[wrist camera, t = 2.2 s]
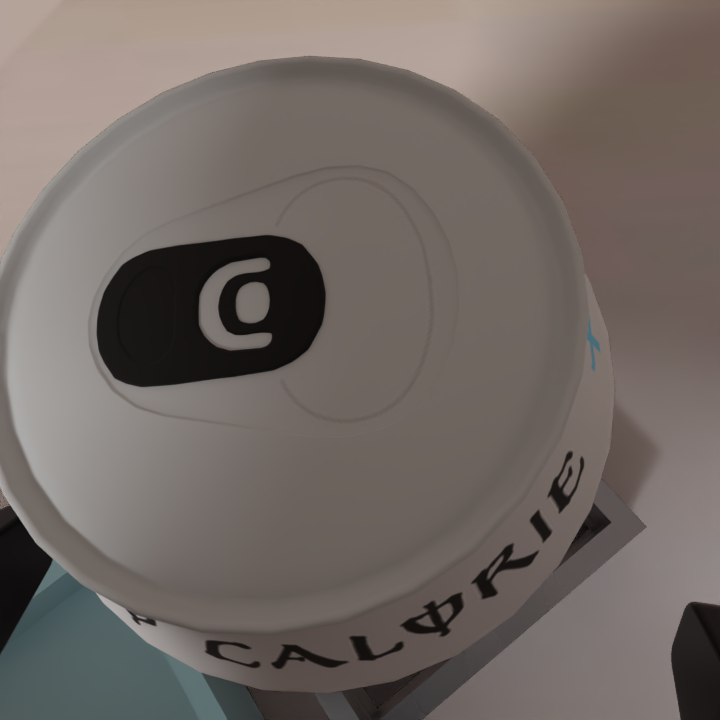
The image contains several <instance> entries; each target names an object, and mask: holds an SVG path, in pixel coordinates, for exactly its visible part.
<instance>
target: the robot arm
mask: <svg viewBox="0 0 720 720" xmlns="http://www.w3.org/2000/svg"><path fill="white" fill-rule="evenodd" d="M52 561H53V558H52V557H50V556H49V555H48V554H47V553H46V552H45V551H44V550H43V549H42V548H41V547H39V546H38V545H37V544H36V543H35V541H34V540H33V538H32V537H31V535H30V534H29V532H28V531H27V529H26V528H25V526H24V525H23V523H22V522H21V520H20V519H19V517H18V516H17V514H16V513H15V511H14V510H13V508H12V507H11V505H10V506H7V507H5V508H3V509H1V510H0V654H1V653H2V651H3V649H4V648H5V646H6V644H7V642H8V641H9V639H10V637H11V635H12V634H13V632H14V630H15V628H16V626H17V625H18V623H19V621H20V619H21V618H22V616H23V614H24V612H25V611H26V609H27V607H28V605H29V603H30V602H31V600H32V598H33V596H34V595H35V593H36V591H37V589H38V587H39V586H40V584H41V582H42V580H43V579H44V577H45V575H46V573H47V571H48V570H49V568H50V566H51V564H52ZM671 662H672V670H673V676H674V682H675V688H676V694H677V700H678V706H679V712H680V718H681V720H720V605H715V604H708V603H701V602H691V603H689V604H688V605H687V606H686V608H685V610H684V612H683V615H682V618H681V621H680V624H679V627H678V630H677V633H676V636H675V639H674V642H673V645H672V651H671Z"/></svg>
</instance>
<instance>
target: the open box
mask: <svg viewBox="0 0 720 720" xmlns="http://www.w3.org/2000/svg"><path fill="white" fill-rule="evenodd" d="M583 523H584V524H585V525H586V526H587V527H588V528H589V530H588V531H587V532H586V533H585V534H583V535H582V536H581V537H580V538H579V539H577V540H576V541H575V542H574V543H573V544H572V545H570V547H569V548H568V550H567V552H566V554H565V555H564V557H563V559H562V561H561V562H560V564H559V566H558V567H557V568H556V569H555V570H554V571H553V572H552V573H551V575H550V576H549V577H548V578H547V579H546V580H545V581H544V582H543V583H542V584H541V586H540V587H539V588H538V589H537V590H536V591H535V592H534V593H533V594H532V595H531V596H530V598H529V599H528V600H527V601H526V602H525V603H524V604H523V605H522V606H521V607H520V609H519V610H518V611H517V612H516V613H515V614H514V615H513V616H512V617H510V618H509V619H507V620H506V621H505V622H503V623H502V624H500V625H499V626H498V627H496V628H495V629H493V630H492V631H490V632H489V633H488V634H486V635H485V636H483V637H482V638H481V639H479V640H478V641H476V642H475V643H474V644H472V645H471V646H469V647H468V648H467V649H465V650H464V651H462V652H461V653H459V654H458V655H456V656H454V657H451V658H449V659H446V660H444V661H442V662H439V663H437V664H435V665H432V666H430V667H427V668H425V669H424V670H423V671H422V672H420V673H419V674H418V675H417V676H416V677H414V678H413V679H412V680H411V681H410V682H409V683H407V684H406V685H405V686H404V687H403V688H401V689H400V690H399V691H398V692H397V693H396V694H394V695H393V696H392V697H391V698H390V699H388V700H387V701H386V702H385V703H384V704H383V705H381V706H380V707H379V708H378V709H377V708H376V706H375V705H374V703H373V702H372V700H371V699H370V697H369V696H368V694H367V692H366V691H365V689H364V688H363V687H360V688H354V689H349V690H343V691H337V692H332V693H313V694H314V695H315V697H316V699H317V700H318V702H319V703H320V705H321V707H322V708H323V710H324V711H325V713H326V715H327V716H328V718H329V719H330V720H422V719H423V718H424V717H426V716H427V715H428V714H429V713H430V712H431V711H433V710H434V709H435V708H436V707H437V706H438V705H440V704H441V703H442V702H443V701H444V700H445V699H447V698H448V697H449V696H450V695H451V694H452V693H454V692H455V691H456V690H457V689H458V688H459V687H461V686H462V685H463V684H464V683H465V682H466V681H467V680H469V679H470V678H471V677H472V676H473V675H474V674H476V673H477V672H478V671H479V670H480V669H481V668H483V667H484V666H485V665H486V664H487V663H488V662H490V661H491V660H492V659H493V658H494V657H495V656H497V655H498V654H499V653H500V652H501V651H502V650H504V649H505V648H506V647H507V646H508V645H509V644H511V643H512V642H513V641H514V640H515V639H516V638H518V637H519V636H520V635H521V634H522V633H523V632H525V631H526V630H527V629H528V628H529V627H530V626H532V625H533V624H534V623H535V622H536V621H537V620H539V619H540V618H541V617H542V616H543V615H544V614H546V613H547V612H548V611H549V610H550V609H551V608H553V607H554V606H555V605H556V604H557V603H558V602H560V601H561V600H562V599H563V598H564V597H565V596H567V595H568V594H569V593H570V592H571V591H572V590H574V589H575V588H576V587H577V586H578V585H579V584H581V583H582V582H583V581H584V580H585V579H586V578H588V577H589V576H590V575H591V574H592V573H593V572H595V571H596V570H597V569H598V568H599V567H600V566H602V565H603V564H604V563H605V562H606V561H607V560H609V559H610V558H611V557H612V556H613V555H614V554H616V553H617V552H618V551H619V550H620V549H621V548H623V547H624V546H625V545H626V544H627V543H628V542H630V541H631V540H632V539H633V538H634V537H635V536H637V535H638V534H639V533H640V532H641V531H642V530H644V529H645V528H646V525H645V524H644V523H643V522H642V521H641V520H640V519H639V518H638V517H637V516H636V515H635V514H634V513H633V512H632V510H631V509H630V508H629V507H628V506H627V505H626V504H625V503H624V502H623V501H622V500H621V499H620V498H619V497H618V495H617V494H616V493H615V492H614V491H613V490H612V489H611V488H610V487H609V486H608V485H607V484H606V483H605V482H604V481H603V479H602V478H601V479H600V483H599V486H598V489H597V492H596V495H595V499H594V502H593V505H592V508H591V510H590V512H589V514H588V515H587V517H586V519H585V521H584V522H583Z"/></svg>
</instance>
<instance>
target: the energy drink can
mask: <svg viewBox="0 0 720 720" xmlns="http://www.w3.org/2000/svg"><path fill="white" fill-rule="evenodd" d="M614 399H615V382H614V374H613V367H612V359H611V351H610V343H609V336H608V330H607V328H606V325H605V322H604V319H603V317H602V314H601V311H600V308H599V305H598V303H597V300H596V297H595V294H594V291H593V289H592V286H591V283H590V280H589V278H588V277H587V275H586V273H585V271H584V262H583V254H582V252H581V249H580V246H579V243H578V241H577V238H576V235H575V232H574V229H573V227H572V224H571V221H570V218H569V216H568V213H567V210H566V207H565V204H564V202H563V200H562V199H561V197H560V196H559V194H558V192H557V191H556V189H555V188H554V186H553V184H552V183H551V181H550V180H549V178H548V177H547V175H546V173H545V172H544V170H543V169H542V167H541V166H540V164H539V162H538V161H537V159H536V158H535V156H534V155H533V154H532V153H531V152H530V151H529V150H528V149H527V148H526V147H525V146H524V145H523V144H522V143H521V142H520V141H519V140H518V139H517V138H516V137H515V136H514V135H513V134H512V133H511V132H510V131H509V130H508V129H507V128H506V127H505V126H504V125H503V124H502V123H501V122H500V121H499V120H498V119H497V118H496V117H494V116H493V115H491V114H490V113H488V112H487V111H486V110H484V109H483V108H481V107H480V106H478V105H477V104H475V103H474V102H472V101H471V100H469V99H468V98H466V97H465V96H463V95H462V94H460V93H459V92H457V91H456V90H454V89H451V88H449V87H447V86H444V85H442V84H440V83H437V82H435V81H433V80H430V79H428V78H426V77H423V76H421V75H419V74H416V73H414V72H411V71H409V70H405V69H401V68H397V67H392V66H388V65H384V64H379V63H375V62H371V61H366V60H362V59H352V58H335V57H319V56H303V57H293V58H282V59H272V60H261V61H256V62H252V63H248V64H244V65H240V66H236V67H232V68H228V69H224V70H220V71H216V72H212V73H209V74H206V75H204V76H201V77H199V78H197V79H194V80H192V81H189V82H187V83H184V84H182V85H180V86H177V87H175V88H172V89H170V90H167V91H165V92H163V93H161V94H159V95H158V96H156V97H154V98H152V99H151V100H149V101H147V102H146V103H144V104H142V105H141V106H139V107H137V108H136V109H134V110H132V111H130V112H129V113H127V114H125V115H124V116H122V117H120V118H119V119H117V120H116V121H115V122H114V123H112V124H111V125H110V126H109V127H107V128H106V129H105V130H104V131H102V132H101V133H100V134H99V135H98V136H96V137H95V138H94V139H93V140H91V141H90V142H89V143H88V144H86V145H85V146H84V147H83V148H81V149H80V150H79V151H78V152H77V153H76V154H75V155H74V156H73V157H72V158H71V159H70V161H69V162H68V163H67V164H66V165H65V166H64V167H63V168H62V169H61V170H60V171H59V172H58V174H57V175H56V176H55V177H54V178H53V179H52V180H51V181H50V182H49V183H48V184H47V186H46V187H45V188H44V189H43V190H42V192H41V193H40V195H39V196H38V198H37V199H36V201H35V202H34V204H33V205H32V207H31V208H30V209H29V211H28V212H27V214H26V215H25V217H24V218H23V220H22V221H21V223H20V224H19V226H18V227H17V229H16V230H15V232H14V234H13V236H12V238H11V240H10V242H9V245H8V247H7V249H6V251H5V253H4V256H3V258H2V260H1V262H0V487H1V490H2V493H3V495H4V496H5V498H6V499H7V501H8V502H9V504H10V505H11V507H12V508H13V510H14V511H15V513H16V514H17V516H18V517H19V519H20V520H21V522H22V523H23V525H24V526H25V528H26V529H27V531H28V532H29V534H30V535H31V537H32V538H33V540H34V541H35V543H36V544H37V545H38V546H39V547H41V548H42V549H43V550H44V551H45V552H46V553H47V554H48V555H49V556H50V557H52V558H53V559H54V560H55V561H56V562H57V563H58V564H59V565H60V566H61V567H62V568H64V569H65V570H66V571H67V572H68V573H69V574H70V575H71V576H72V577H73V578H75V579H76V580H77V581H78V582H79V583H80V584H81V585H83V586H85V587H87V588H88V589H90V590H92V591H94V592H96V594H97V595H98V597H99V598H100V599H101V601H102V602H103V603H104V604H105V605H106V606H107V607H108V608H109V609H110V610H112V611H113V612H114V613H115V614H116V615H117V616H118V617H119V618H120V619H121V620H123V621H124V622H125V623H126V624H127V625H128V626H129V627H130V628H131V629H132V630H134V631H135V632H136V633H137V634H138V635H139V636H140V637H141V638H142V639H143V640H144V641H146V642H147V643H149V644H150V645H152V646H154V647H156V648H157V649H159V650H161V651H163V652H165V653H166V654H168V655H170V656H172V657H174V658H175V659H177V660H179V661H181V662H182V663H184V664H186V665H188V666H190V667H191V668H193V669H195V670H197V671H199V672H200V673H204V674H207V675H211V676H215V677H218V678H222V679H225V680H229V681H232V682H236V683H239V684H243V685H246V686H250V687H253V688H257V689H260V690H273V691H293V692H313V693H332V692H337V691H343V690H349V689H354V688H360V687H365V686H371V685H377V684H382V683H388V682H393V681H396V680H399V679H401V678H403V677H406V676H408V675H411V674H413V673H415V672H418V671H420V670H423V669H425V668H427V667H430V666H432V665H435V664H437V663H439V662H442V661H444V660H446V659H449V658H451V657H454V656H456V655H458V654H459V653H461V652H462V651H464V650H465V649H467V648H468V647H469V646H471V645H472V644H474V643H475V642H476V641H478V640H479V639H481V638H482V637H483V636H485V635H486V634H488V633H489V632H490V631H492V630H493V629H495V628H496V627H498V626H499V625H500V624H502V623H503V622H505V621H506V620H507V619H509V618H510V617H512V616H513V615H514V614H515V613H516V612H517V611H518V610H519V609H520V607H521V606H522V605H523V604H524V603H525V602H526V601H527V600H528V599H529V598H530V596H531V595H532V594H533V593H534V592H535V591H536V590H537V589H538V588H539V587H540V586H541V584H542V583H543V582H544V581H545V580H546V579H547V578H548V577H549V576H550V575H551V573H552V572H553V571H554V570H555V569H556V568H557V567H558V566H559V564H560V562H561V561H562V559H563V557H564V555H565V554H566V552H567V550H568V548H569V547H570V545H571V543H572V542H573V540H574V538H575V536H576V535H577V533H578V531H579V529H580V528H581V526H582V524H583V522H584V521H585V519H586V517H587V515H588V514H589V512H590V510H591V508H592V505H593V502H594V499H595V495H596V492H597V489H598V486H599V483H600V479H601V476H602V473H603V470H604V467H605V464H606V460H607V457H608V454H609V451H610V445H611V434H612V422H613V410H614Z"/></svg>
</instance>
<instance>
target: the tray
mask: <svg viewBox="0 0 720 720" xmlns="http://www.w3.org/2000/svg"><path fill="white" fill-rule="evenodd" d="M0 720H265V719H264V717H263V715H262V714H261V712H260V710H259V709H258V707H257V705H256V703H255V702H254V700H253V698H252V696H251V695H250V693H249V691H248V690H247V688H246V686H245V685H243V684H239V683H236V682H232V681H229V680H225V679H222V678H218V677H215V676H211V675H207V674H204V673H200V672H199V671H197V670H195V669H193V668H191V667H190V666H188V665H186V664H184V663H182V662H181V661H179V660H177V659H175V658H174V657H172V656H170V655H168V654H166V653H165V652H163V651H161V650H159V649H157V648H156V647H154V646H152V645H150V644H149V643H147V642H146V641H144V640H143V639H142V638H141V637H140V636H139V635H138V634H137V633H136V632H135V631H134V630H132V629H131V628H130V627H129V626H128V625H127V624H126V623H125V622H124V621H123V620H121V619H120V618H119V617H118V616H117V615H116V614H115V613H114V612H113V611H112V610H110V609H109V608H108V607H107V606H106V605H105V604H104V603H103V602H102V601H101V599H100V598H99V597H98V595H97V594H96V592H94V591H92V590H90V589H88V588H87V587H85V586H83V585H81V584H80V583H79V582H78V581H77V580H76V579H75V578H73V577H72V576H71V575H70V574H69V573H68V572H67V571H66V570H65V569H64V568H62V567H61V566H60V565H59V564H58V563H57V562H56V561H55V560H54V559H53V561H52V564H51V566H50V568H49V570H48V571H47V573H46V575H45V577H44V579H43V580H42V582H41V584H40V586H39V587H38V589H37V591H36V593H35V595H34V596H33V598H32V600H31V602H30V603H29V605H28V607H27V609H26V611H25V612H24V614H23V616H22V618H21V619H20V621H19V623H18V625H17V626H16V628H15V630H14V632H13V634H12V635H11V637H10V639H9V641H8V642H7V644H6V646H5V648H4V649H3V651H2V653H1V654H0Z"/></svg>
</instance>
